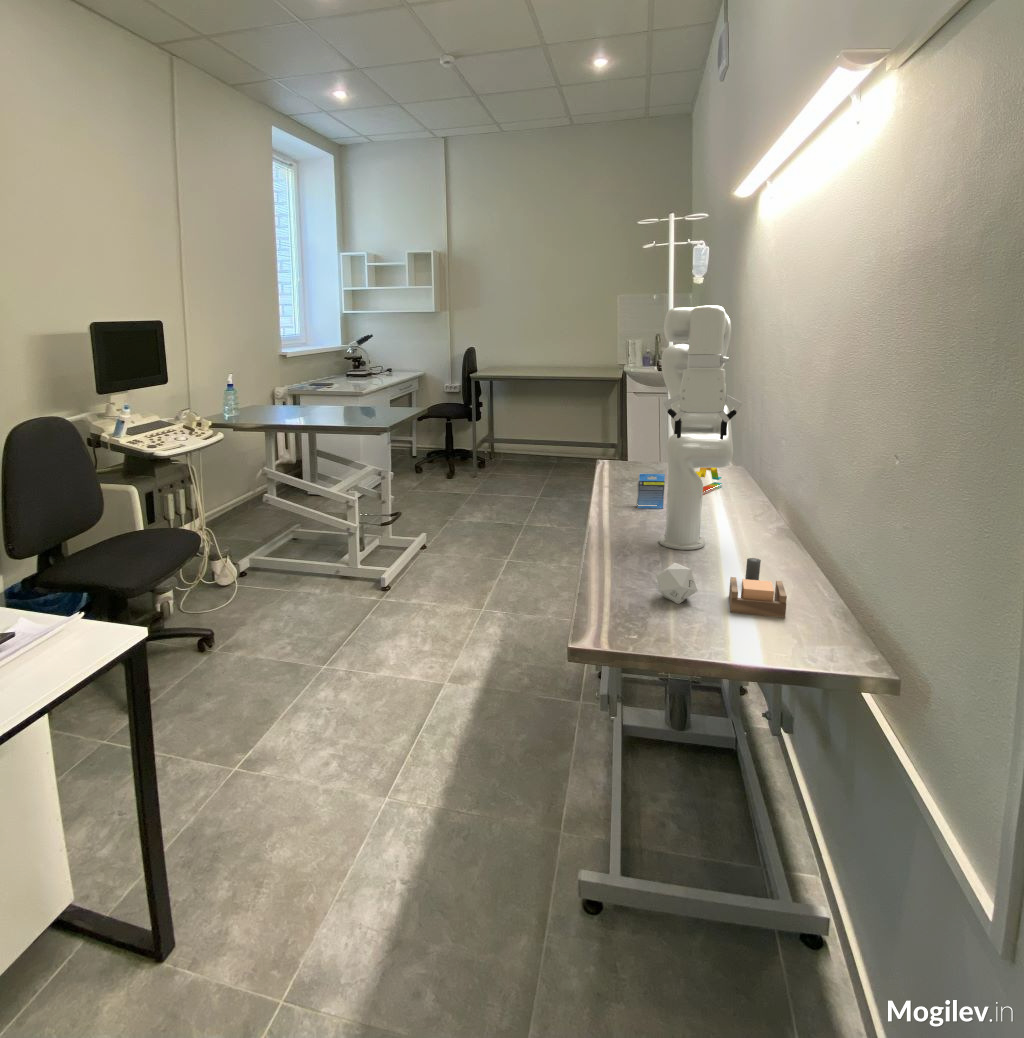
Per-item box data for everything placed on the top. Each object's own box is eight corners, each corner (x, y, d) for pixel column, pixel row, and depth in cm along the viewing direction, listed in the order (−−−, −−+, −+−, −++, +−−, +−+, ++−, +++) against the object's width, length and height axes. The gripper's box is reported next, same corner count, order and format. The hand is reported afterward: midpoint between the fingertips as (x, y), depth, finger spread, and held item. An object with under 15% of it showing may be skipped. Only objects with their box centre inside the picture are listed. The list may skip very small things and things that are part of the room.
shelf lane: (729, 595, 149) (730, 576, 147) (779, 600, 146) (781, 581, 145) (730, 612, 140) (732, 592, 138) (784, 617, 137) (787, 597, 136)
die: (657, 608, 144) (686, 580, 139) (642, 579, 150) (669, 551, 144) (683, 614, 148) (712, 587, 143) (668, 585, 154) (695, 558, 149)
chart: (686, 503, 233) (689, 461, 229) (678, 501, 235) (680, 460, 231) (722, 488, 255) (725, 449, 251) (714, 486, 257) (717, 449, 253)
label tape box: (662, 506, 228) (663, 471, 225) (663, 509, 224) (665, 473, 221) (636, 505, 229) (637, 471, 226) (637, 508, 225) (638, 473, 222)
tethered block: (738, 580, 158) (740, 557, 156) (764, 582, 156) (766, 559, 154) (742, 610, 141) (744, 584, 139) (771, 613, 139) (774, 586, 137)
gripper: (744, 362, 150) (738, 437, 154) (667, 362, 155) (663, 435, 159) (745, 363, 143) (739, 441, 147) (664, 363, 148) (660, 439, 152)
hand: (700, 438), depth 153 cm, fingers open, 9 cm apart
